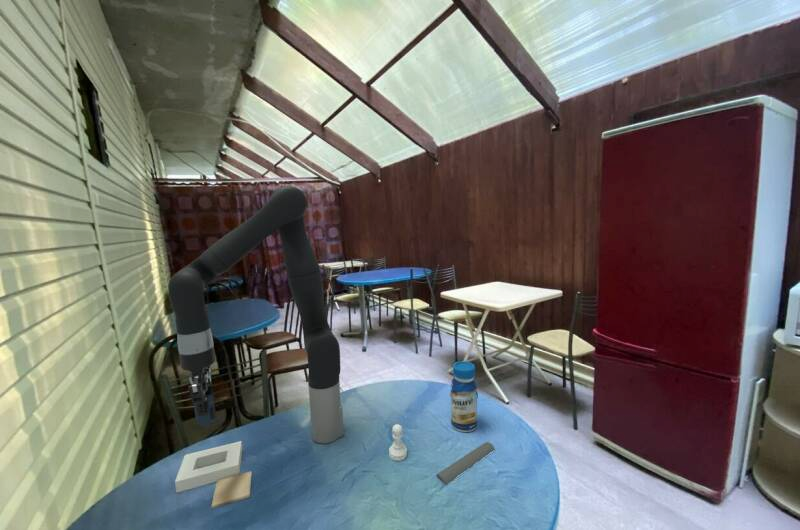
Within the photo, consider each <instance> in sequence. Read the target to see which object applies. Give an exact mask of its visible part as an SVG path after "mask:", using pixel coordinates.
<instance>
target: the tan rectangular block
mask: <svg viewBox="0 0 800 530" xmlns="http://www.w3.org/2000/svg"><path fill="white" fill-rule="evenodd" d="M251 484H252V471H251V470H250V471H247V472H244V473H240V474H239V475H236V476H232V477H229V478H225V479H221V480H218V481H217V482H216V485H215V488H214V489H215V490H214V493H213V497H212V501H211V502H212V503H211V509H215V508H218V507H221V506H225V505H228V504H231V503H234V502H238V501H242V500H244V499H247V498H250V497H251Z"/></svg>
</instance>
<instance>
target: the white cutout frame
mask: <svg viewBox="0 0 800 530" xmlns="http://www.w3.org/2000/svg"><path fill="white" fill-rule="evenodd" d="M242 442H243V441H242V440H240V441H235V442H231V443H228V444H223V445H219V446H216V447H211V448H207V449H203V450H199V451H196V452H192V453H188V454H185V455H184V457H183V458H182V459H183V460H182V462H181V465H180V467H179V470H178V472H177V474H176V477H175V480H174V484H175V491H176V492H175V493H180V492H181V493H182V492H185V491H187V490H188V491H189V490H191V489H195V488H200V487H202V486H205V485H210V484H213V483H217V481H218V480H221V479H225V478H229V477H232V476H236V475H239V474H241V465H242V457H243V450H244V449H243V443H242Z"/></svg>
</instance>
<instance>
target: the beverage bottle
mask: <svg viewBox="0 0 800 530" xmlns="http://www.w3.org/2000/svg"><path fill="white" fill-rule="evenodd" d="M452 373H453V378H452V380H451V382H450V388H451V389H450V392H449V395H450V397H451V398H450V401H451V402H450V407H451V409H450V411H451V412H450V413H451V416H450V424H451V426H452V428H454V429H455V430H456V431H459V432H461V433H471V432H472V431H473V432H474V430H476V428H477V426H478V417H477V416H478V399H479V398H478V397H479V396H478V395H479V393H478V391H477V390H478V383H477V380H475V377H476V366H475V364H474V363H472V362H470V361H466V360H461V361H456V362H454V363H453V365H452Z"/></svg>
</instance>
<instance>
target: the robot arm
mask: <svg viewBox="0 0 800 530" xmlns="http://www.w3.org/2000/svg"><path fill="white" fill-rule="evenodd" d="M307 200H308V199H307V197H306V195H305V193H304V192H303V191H302V190H301V189H300V188H298V187H295V186H292V185H282V186H280V187H278V188H276V189H275V190H274V191H273V192H272V193H271V195H270V196H269V199H268V200H267V201H266V202H265V204H263V206H262V207H260V209H259V210H258V211H256V212H255V213H254V214H253V215H252V216H250V217H249V218H248V219H247V220H244V222H242V223H241V224H240V225H237V227H235V228H234V229H233V230H231V231H229V232H228V233H226V234H225V235H224V236H222V237H221V238H220V239H218V240H217V241H216V242H214V243H213V244H212V245H210V246H209V247H208V248H207V249H206V250H204V252H202V253H201V255H200V256H198V257H197V258H195V259H194V260H192V261H191V262H189V264H187V265H186V266H184V267H183V268H181V269H180V270H179V271H177V272H175V274H173V276H171V278H170V279H169V280H168V286H167V287H168V295H169V300H170V304H171V306H172V310H173V312H174V314H175V315H174V316H175V324H176V325H175V326H176V334H177V339H176V340H177V341H176V342H177V350H178V356H179V362H180V369H181V370H183V371H187V372H190V374H191V375H189V383H190V384H189V385H188V387H187V389H188V392H189V394H190V395H189V396H190V398H191V402H192V405H194V404H196V405H197V412H198V416H202V415H206V414H207V413H208V406H207V395H206V391H207V390H208V381H210V382H211V384H212V383H213V382H212V371H211V370H212V369H211V366H212V365H213V364H214V363H215V362H216V354H215V353H216V352H215V346H214V344H215V343H214V339H213V332H212V329H211V324H210V316H209V310H208V309H207V307H206V302H205V294H204V290H205V288H206V287H207V286H208V285H210V284H211V283H212V282H213V281H214V280H216V279H217V278H218V277H219V276H220V275H223V274H225V273H226V272H228V271H229V270H230V269H231V268H233V267H234V266H235V265H236V264H238V262H240V261H241V260H243V259H244V258H245V257H246V256H247V255H248V254H249V253H251V252H252V251H253V250H254V249H255V248H256V247H257V246H259V244H260V243H262V242H264V240H265V239H266V238H268V237H269V236H271V235H272V234H274V232H275V233H276V231H278V234H279V237H280V241H281V249H282V256H283V262H284V266H285V272H286V278H287V281H288V284H289V289H290V292H291V295H292V298H293V300H294V304H295V306H296V308H297V311H298V313H299V316H300V323H301V328H302V335H303V336H302V337H303V345H304V350H305V351H306V355H307V367H308V374H307V384H308V400H309V414H310V425H311V426H310V427H311V430H310V431H311V438H312V440H313V441H314V442H315V443H318V444H329V443H333V442H335V441H336V440H338V439H339V438H340V437H344V435H345V433H344V431H345V429H344V428H345V427H344V415H343V404H342V402H341V401H342V400H341V387H340V386H341V384H340V374H341V349H340V347H341V346H340V342H339V341H338V339H337V337H336V336H335V334H334V333H333V331H332V329H331V327H330V324H329V321H328V318H327V314H326V310H325V291H324V289H325V288H324V281H323V277H322V273H321V269H320V265H319V262H318V259H317V256H316V253H315V251H314V249H313V247H312V245H311V242H310V241H309V237H308V233H307V230H306V223H305V217H304V215H305V213H306V210H307V206H308V201H307ZM204 385H205V388H202V387H203V386H204Z"/></svg>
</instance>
